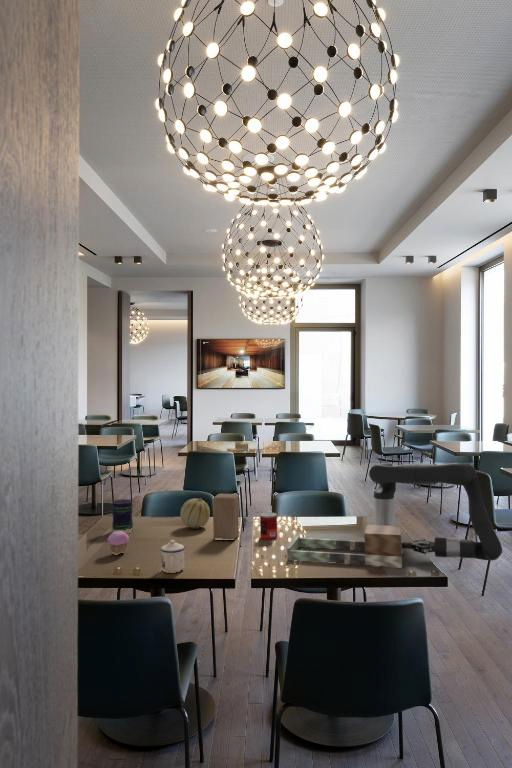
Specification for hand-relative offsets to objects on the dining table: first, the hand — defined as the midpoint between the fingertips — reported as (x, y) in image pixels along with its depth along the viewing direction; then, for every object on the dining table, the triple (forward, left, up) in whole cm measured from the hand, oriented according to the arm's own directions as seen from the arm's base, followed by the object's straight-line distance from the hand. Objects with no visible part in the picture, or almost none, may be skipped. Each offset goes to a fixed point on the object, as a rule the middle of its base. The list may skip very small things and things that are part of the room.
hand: (402, 545), depth 241 cm
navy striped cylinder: (+82, -107, -6) cm, 135 cm away
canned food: (+28, -58, -6) cm, 65 cm away
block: (+45, -68, -6) cm, 82 cm away
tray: (+16, -16, -6) cm, 23 cm away
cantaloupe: (+49, -94, -6) cm, 106 cm away
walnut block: (+5, -5, -6) cm, 10 cm away
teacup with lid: (+84, -37, -6) cm, 92 cm away
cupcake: (+95, -71, -6) cm, 119 cm away
